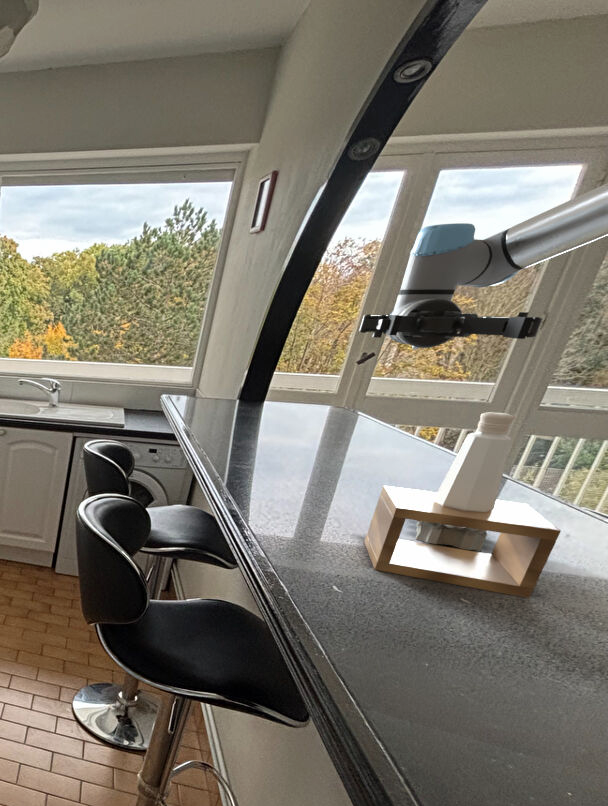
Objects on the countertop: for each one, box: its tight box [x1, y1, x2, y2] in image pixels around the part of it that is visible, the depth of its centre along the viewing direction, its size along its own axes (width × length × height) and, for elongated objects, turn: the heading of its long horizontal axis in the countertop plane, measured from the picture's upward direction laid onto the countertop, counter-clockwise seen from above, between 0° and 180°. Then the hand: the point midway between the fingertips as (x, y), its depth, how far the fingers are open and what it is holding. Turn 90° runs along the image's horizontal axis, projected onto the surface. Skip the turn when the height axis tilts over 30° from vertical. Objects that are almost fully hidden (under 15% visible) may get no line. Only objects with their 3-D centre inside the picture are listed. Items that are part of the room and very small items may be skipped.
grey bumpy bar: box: [415, 520, 488, 552], centre depth 83 cm, size 11×8×4 cm
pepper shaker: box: [434, 411, 515, 513], centre depth 69 cm, size 5×5×11 cm
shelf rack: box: [364, 485, 562, 599], centre depth 73 cm, size 14×11×8 cm
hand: (458, 326), depth 82 cm, fingers open, 13 cm apart
